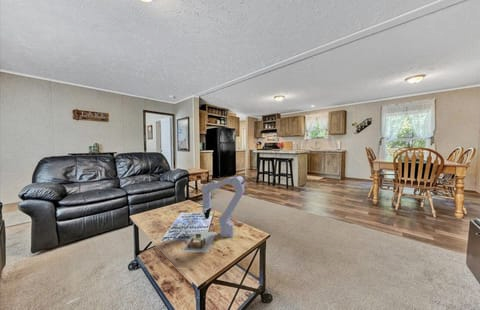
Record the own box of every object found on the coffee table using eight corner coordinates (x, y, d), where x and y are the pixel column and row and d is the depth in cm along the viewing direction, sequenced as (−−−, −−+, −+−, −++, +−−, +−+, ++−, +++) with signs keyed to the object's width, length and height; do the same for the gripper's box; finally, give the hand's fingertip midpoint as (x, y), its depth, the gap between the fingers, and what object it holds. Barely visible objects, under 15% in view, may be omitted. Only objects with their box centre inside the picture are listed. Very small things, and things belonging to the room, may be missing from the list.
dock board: (216, 232, 125) (216, 232, 125) (208, 253, 101) (208, 252, 101) (194, 232, 126) (194, 231, 126) (181, 252, 102) (181, 251, 102)
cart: (194, 241, 112) (194, 233, 112) (202, 242, 112) (202, 233, 112) (191, 247, 107) (191, 238, 106) (199, 247, 106) (199, 238, 106)
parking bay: (205, 242, 112) (205, 238, 112) (202, 248, 105) (202, 244, 105) (192, 241, 113) (192, 238, 112) (188, 248, 105) (188, 244, 105)
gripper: (204, 197, 133) (204, 214, 134) (198, 203, 119) (198, 222, 119) (213, 197, 133) (213, 214, 133) (208, 203, 118) (208, 223, 119)
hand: (207, 218), depth 126 cm, fingers closed
